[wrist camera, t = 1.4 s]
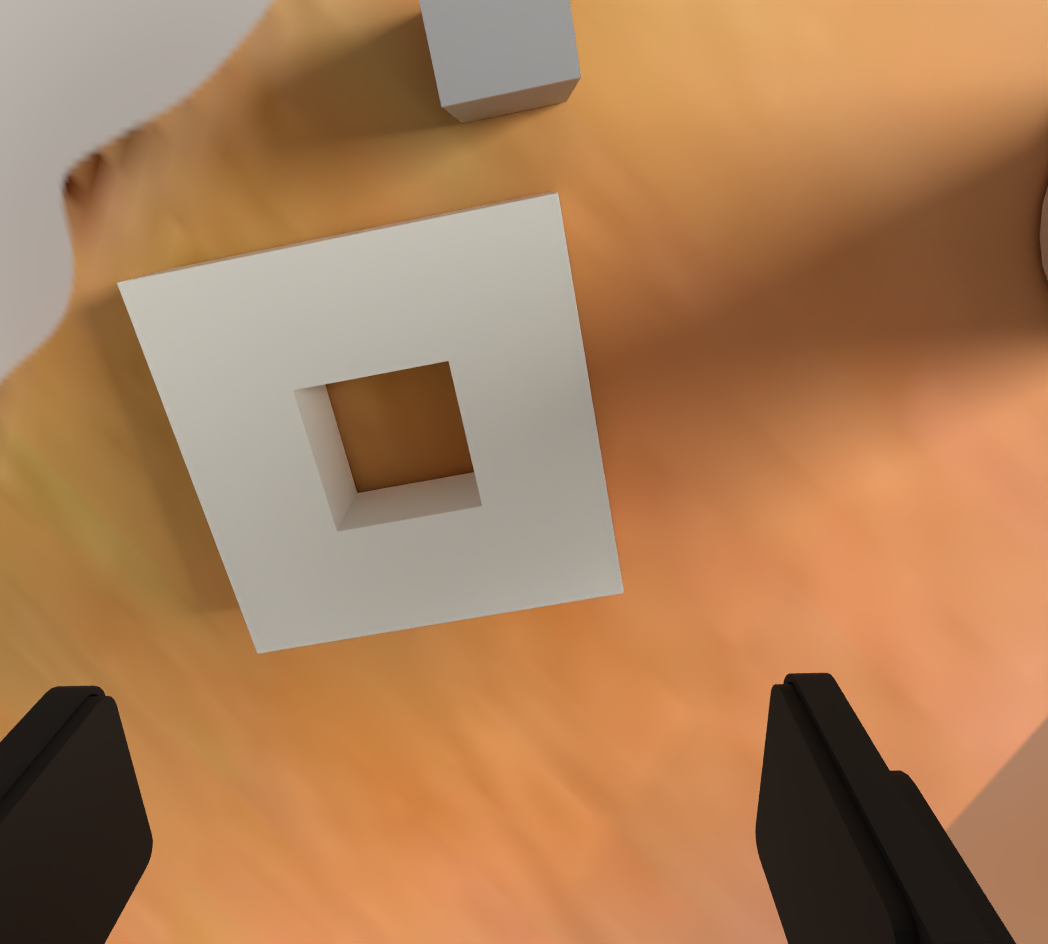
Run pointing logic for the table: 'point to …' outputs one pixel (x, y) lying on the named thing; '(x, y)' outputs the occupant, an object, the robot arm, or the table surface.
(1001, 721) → the table surface
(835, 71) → the table surface
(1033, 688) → the table surface
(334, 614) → the socket housing
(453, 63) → the plug
